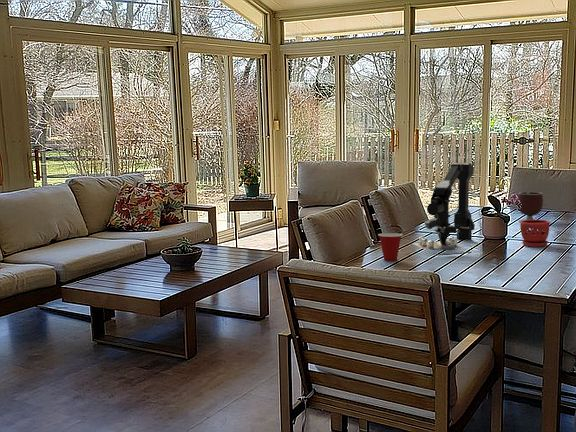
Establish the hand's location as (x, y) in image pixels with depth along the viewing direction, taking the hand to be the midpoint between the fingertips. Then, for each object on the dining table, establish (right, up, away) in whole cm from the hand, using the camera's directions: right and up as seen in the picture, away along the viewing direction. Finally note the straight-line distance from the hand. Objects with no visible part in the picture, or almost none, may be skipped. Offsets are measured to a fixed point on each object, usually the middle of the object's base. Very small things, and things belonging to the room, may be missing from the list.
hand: (442, 244), depth 307 cm
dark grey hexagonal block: (+2, -2, -3) cm, 4 cm away
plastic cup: (-28, -6, -18) cm, 34 cm away
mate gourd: (+68, +10, +69) cm, 97 cm away
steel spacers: (-1, 0, +5) cm, 5 cm away
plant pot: (+45, -1, +3) cm, 46 cm away
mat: (+2, -3, -6) cm, 7 cm away
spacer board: (-1, -2, +6) cm, 6 cm away
